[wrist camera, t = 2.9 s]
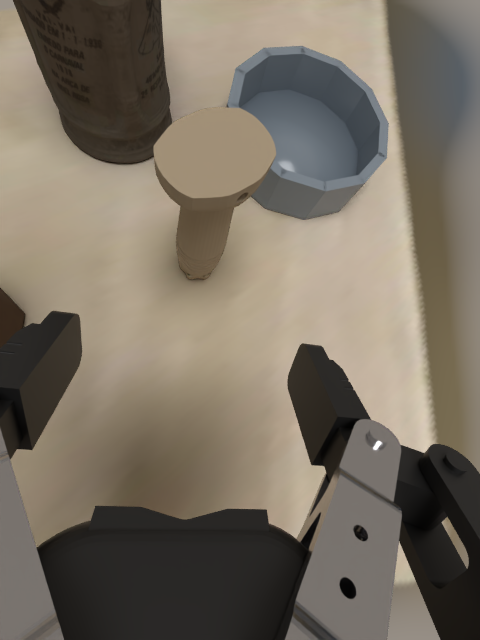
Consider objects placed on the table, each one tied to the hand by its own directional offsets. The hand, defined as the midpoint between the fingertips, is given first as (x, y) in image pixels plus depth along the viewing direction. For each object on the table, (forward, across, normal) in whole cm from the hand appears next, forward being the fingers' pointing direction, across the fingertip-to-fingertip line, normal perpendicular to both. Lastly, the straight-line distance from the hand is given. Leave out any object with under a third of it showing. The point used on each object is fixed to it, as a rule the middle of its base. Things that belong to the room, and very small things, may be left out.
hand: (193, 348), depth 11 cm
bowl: (+31, -9, -7) cm, 33 cm away
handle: (+19, 0, +5) cm, 20 cm away
